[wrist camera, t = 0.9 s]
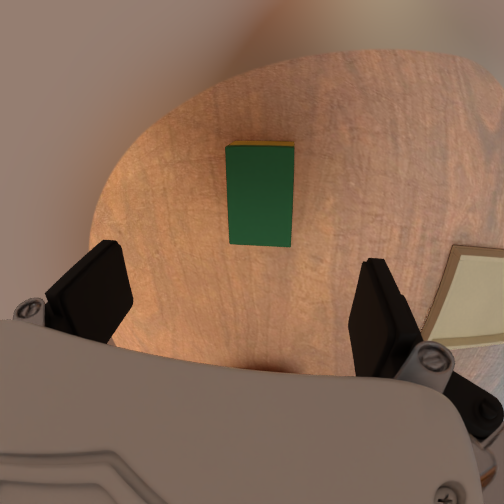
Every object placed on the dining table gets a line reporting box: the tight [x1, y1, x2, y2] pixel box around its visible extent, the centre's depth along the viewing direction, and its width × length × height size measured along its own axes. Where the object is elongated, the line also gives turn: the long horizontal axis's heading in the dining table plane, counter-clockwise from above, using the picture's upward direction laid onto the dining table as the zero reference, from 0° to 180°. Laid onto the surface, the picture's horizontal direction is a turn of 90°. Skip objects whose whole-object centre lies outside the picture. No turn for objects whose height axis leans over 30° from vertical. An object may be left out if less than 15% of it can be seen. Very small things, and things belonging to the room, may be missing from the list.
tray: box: [421, 245, 504, 350], centre depth 26 cm, size 13×17×2 cm
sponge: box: [225, 141, 294, 247], centre depth 24 cm, size 8×5×4 cm, turn 1°
